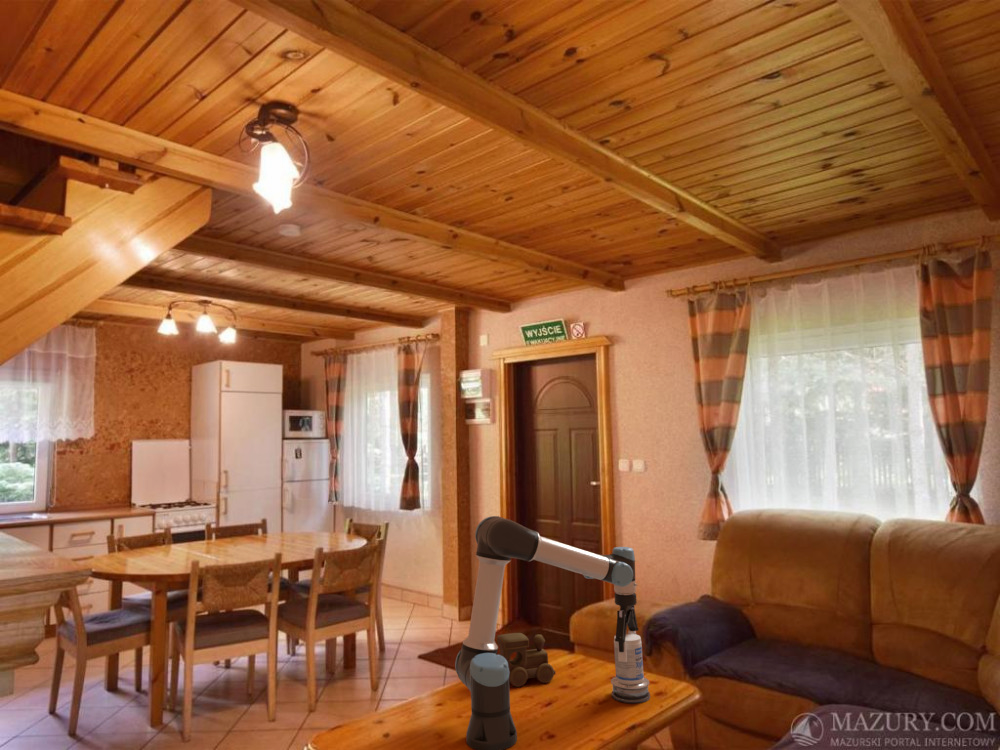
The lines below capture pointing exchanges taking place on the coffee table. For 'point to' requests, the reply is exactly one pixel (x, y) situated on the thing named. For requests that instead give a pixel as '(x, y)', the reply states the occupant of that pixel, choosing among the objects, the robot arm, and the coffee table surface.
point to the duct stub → (630, 692)
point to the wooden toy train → (525, 658)
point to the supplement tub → (630, 661)
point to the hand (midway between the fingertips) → (627, 655)
